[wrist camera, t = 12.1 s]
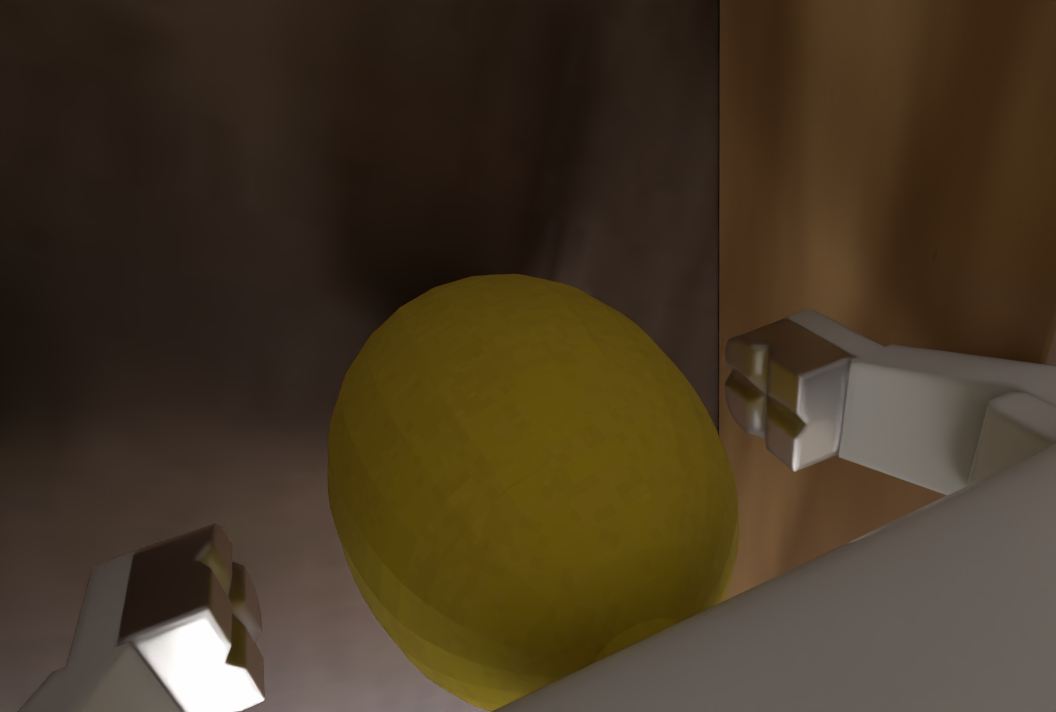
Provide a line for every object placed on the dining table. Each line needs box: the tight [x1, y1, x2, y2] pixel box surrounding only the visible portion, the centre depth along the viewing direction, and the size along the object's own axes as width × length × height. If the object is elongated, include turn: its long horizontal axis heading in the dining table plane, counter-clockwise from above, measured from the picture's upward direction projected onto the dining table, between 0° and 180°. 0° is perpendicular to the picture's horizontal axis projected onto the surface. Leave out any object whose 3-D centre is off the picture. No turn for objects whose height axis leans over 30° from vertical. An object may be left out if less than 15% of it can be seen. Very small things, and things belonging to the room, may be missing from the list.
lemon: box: [328, 274, 739, 711], centre depth 10 cm, size 6×6×8 cm
